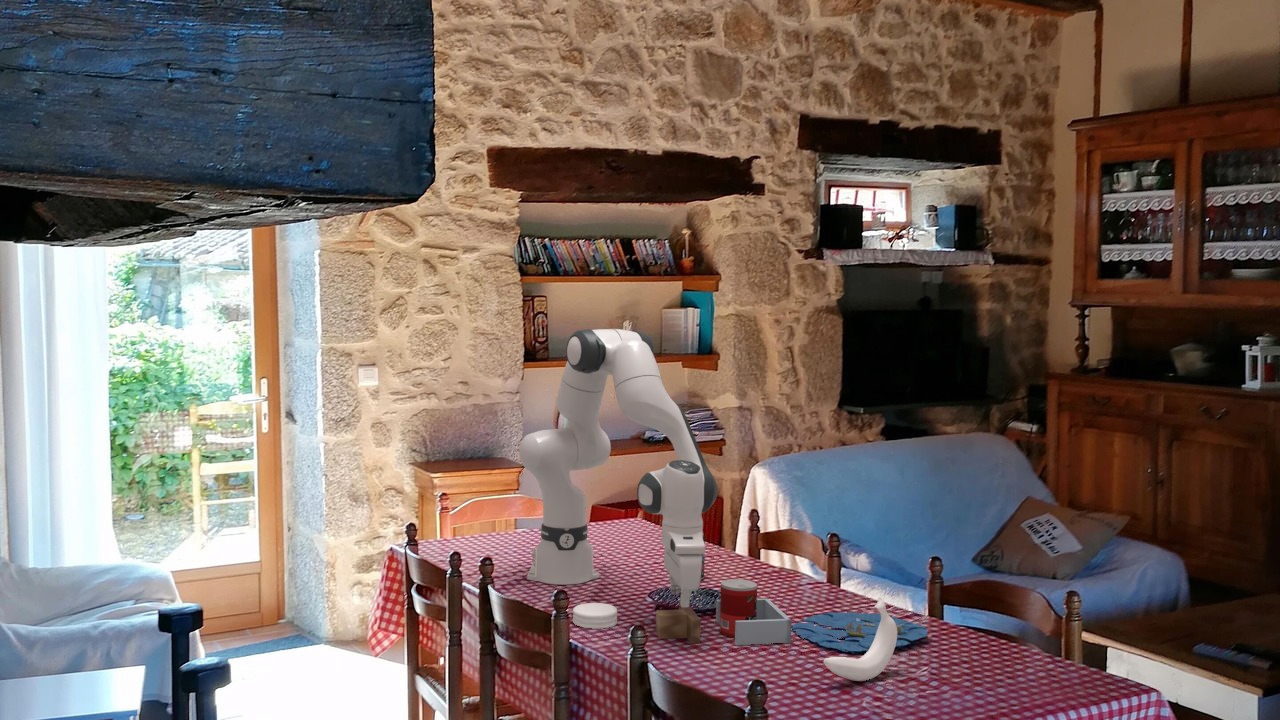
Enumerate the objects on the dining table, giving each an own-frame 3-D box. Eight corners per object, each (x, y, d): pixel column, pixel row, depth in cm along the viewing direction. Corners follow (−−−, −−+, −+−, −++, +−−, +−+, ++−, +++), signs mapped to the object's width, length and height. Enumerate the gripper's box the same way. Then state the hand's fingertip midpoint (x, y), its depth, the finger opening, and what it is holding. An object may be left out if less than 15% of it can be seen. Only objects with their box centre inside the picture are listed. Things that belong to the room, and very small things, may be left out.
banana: (821, 686, 203) (823, 609, 202) (881, 665, 216) (883, 593, 215) (842, 693, 199) (844, 615, 199) (901, 671, 212) (904, 598, 211)
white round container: (571, 617, 245) (572, 602, 245) (615, 617, 246) (615, 602, 246) (573, 630, 235) (573, 614, 235) (618, 630, 236) (619, 614, 236)
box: (716, 621, 243) (716, 599, 243) (767, 620, 245) (767, 598, 245) (736, 645, 226) (736, 622, 226) (790, 643, 228) (791, 620, 228)
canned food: (752, 640, 230) (754, 589, 230) (716, 636, 232) (717, 586, 232) (758, 630, 237) (760, 580, 237) (723, 626, 240) (724, 577, 239)
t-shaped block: (663, 644, 226) (663, 621, 226) (652, 627, 238) (652, 605, 238) (700, 643, 227) (700, 619, 227) (687, 626, 239) (688, 604, 239)
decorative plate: (776, 652, 227) (775, 628, 227) (807, 614, 255) (807, 592, 255) (919, 666, 217) (919, 641, 216) (935, 624, 244) (935, 601, 244)
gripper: (658, 526, 241) (656, 586, 242) (677, 548, 221) (675, 614, 222) (685, 525, 243) (683, 586, 244) (707, 548, 223) (704, 613, 223)
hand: (679, 599), depth 233 cm, fingers open, 8 cm apart
